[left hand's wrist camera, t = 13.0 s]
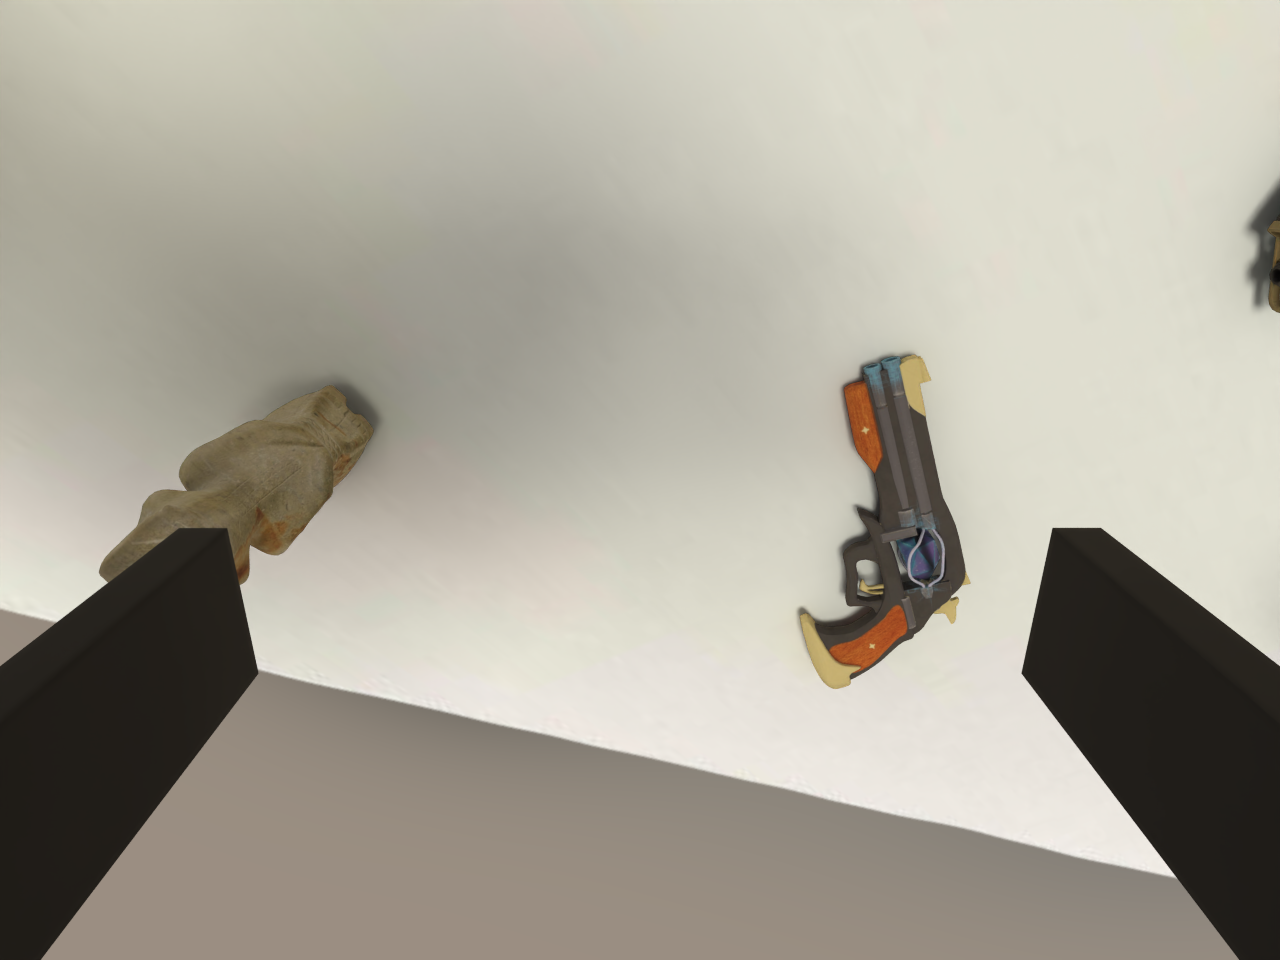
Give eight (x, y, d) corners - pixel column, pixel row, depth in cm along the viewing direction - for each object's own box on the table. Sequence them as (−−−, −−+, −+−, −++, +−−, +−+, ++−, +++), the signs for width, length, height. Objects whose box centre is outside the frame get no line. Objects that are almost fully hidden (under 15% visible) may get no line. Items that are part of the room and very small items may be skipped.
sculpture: (237, 429, 43) (45, 551, 29) (333, 356, 42) (179, 448, 28) (310, 508, 45) (162, 659, 31) (405, 441, 44) (295, 568, 30)
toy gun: (821, 702, 47) (994, 670, 45) (737, 407, 42) (929, 354, 39) (818, 676, 50) (981, 645, 47) (738, 395, 44) (918, 345, 42)
